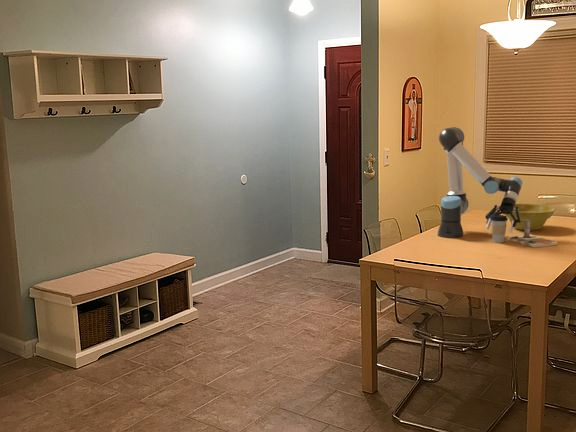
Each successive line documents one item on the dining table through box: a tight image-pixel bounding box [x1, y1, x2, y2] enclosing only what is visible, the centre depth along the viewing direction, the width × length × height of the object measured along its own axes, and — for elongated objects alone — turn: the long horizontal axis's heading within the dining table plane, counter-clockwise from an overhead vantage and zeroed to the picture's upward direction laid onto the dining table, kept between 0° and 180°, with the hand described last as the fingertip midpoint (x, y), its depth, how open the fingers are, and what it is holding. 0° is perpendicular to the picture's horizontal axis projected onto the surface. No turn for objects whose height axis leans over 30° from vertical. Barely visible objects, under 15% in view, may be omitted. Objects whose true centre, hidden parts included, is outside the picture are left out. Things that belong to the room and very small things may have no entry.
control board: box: [507, 220, 558, 248], centre depth 356 cm, size 22×16×12 cm
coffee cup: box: [490, 214, 509, 244], centre depth 359 cm, size 9×9×15 cm
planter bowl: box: [504, 203, 557, 232], centre depth 394 cm, size 32×32×13 cm
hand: (498, 230), depth 358 cm, fingers open, 13 cm apart
